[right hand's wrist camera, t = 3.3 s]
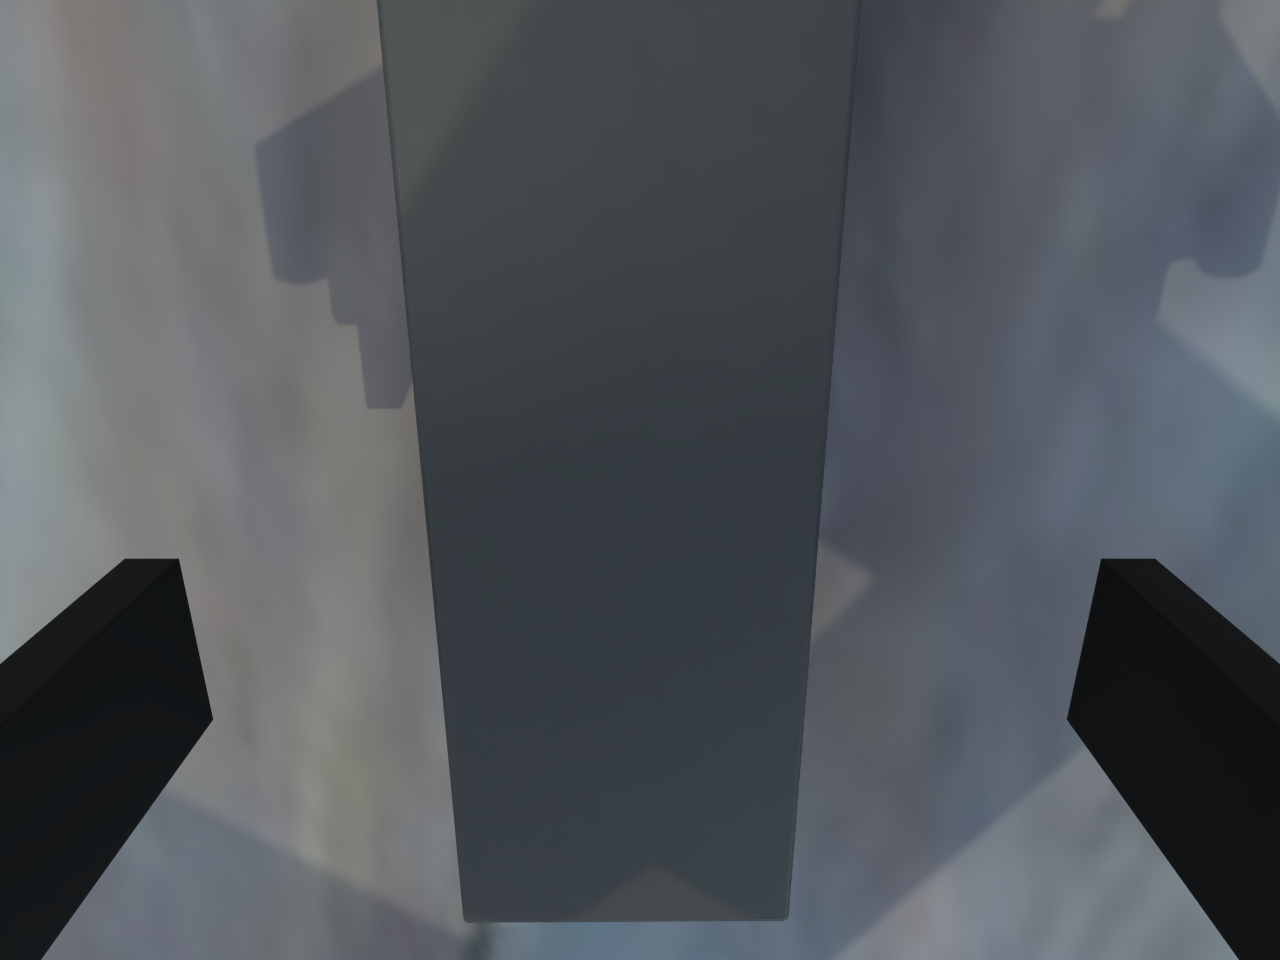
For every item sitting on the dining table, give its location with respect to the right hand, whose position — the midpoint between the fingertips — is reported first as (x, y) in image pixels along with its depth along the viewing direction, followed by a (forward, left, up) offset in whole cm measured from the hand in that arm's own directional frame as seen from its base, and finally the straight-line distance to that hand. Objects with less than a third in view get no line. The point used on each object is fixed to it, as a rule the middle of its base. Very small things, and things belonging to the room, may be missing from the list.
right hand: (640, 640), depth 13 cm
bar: (+2, +7, -7) cm, 10 cm away
